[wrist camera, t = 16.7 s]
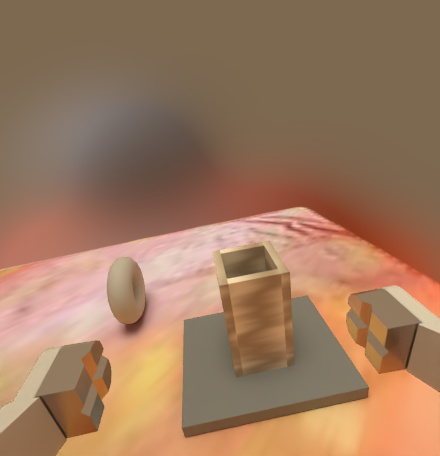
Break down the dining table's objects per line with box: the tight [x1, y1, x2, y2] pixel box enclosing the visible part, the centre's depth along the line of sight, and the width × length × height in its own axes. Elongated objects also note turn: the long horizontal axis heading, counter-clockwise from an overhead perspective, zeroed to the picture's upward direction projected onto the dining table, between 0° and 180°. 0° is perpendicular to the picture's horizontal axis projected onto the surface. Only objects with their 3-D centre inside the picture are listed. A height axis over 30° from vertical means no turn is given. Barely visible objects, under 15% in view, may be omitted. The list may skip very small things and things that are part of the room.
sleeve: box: [213, 241, 294, 378], centre depth 28 cm, size 6×6×12 cm
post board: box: [182, 296, 369, 437], centre depth 30 cm, size 18×14×10 cm
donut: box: [107, 257, 145, 324], centre depth 40 cm, size 10×4×10 cm, turn 7°
